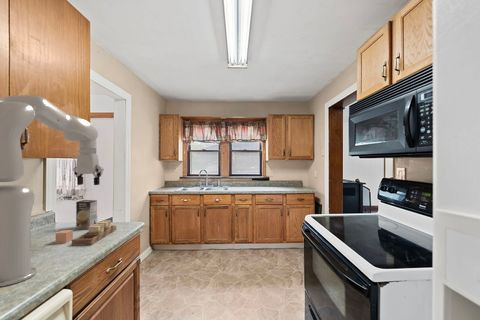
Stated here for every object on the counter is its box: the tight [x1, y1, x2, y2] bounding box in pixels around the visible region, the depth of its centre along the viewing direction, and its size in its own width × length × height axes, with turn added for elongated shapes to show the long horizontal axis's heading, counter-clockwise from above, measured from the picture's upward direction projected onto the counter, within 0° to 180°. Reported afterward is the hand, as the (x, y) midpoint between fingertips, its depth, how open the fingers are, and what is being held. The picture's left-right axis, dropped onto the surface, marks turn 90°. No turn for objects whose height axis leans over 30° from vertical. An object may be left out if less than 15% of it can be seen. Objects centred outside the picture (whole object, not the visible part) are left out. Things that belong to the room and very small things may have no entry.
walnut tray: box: [71, 219, 117, 246], centre depth 126 cm, size 25×9×6 cm, turn 2°
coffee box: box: [75, 199, 98, 230], centre depth 144 cm, size 9×6×16 cm
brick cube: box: [55, 229, 74, 244], centre depth 119 cm, size 5×5×5 cm
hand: (88, 184), depth 125 cm, fingers open, 9 cm apart
